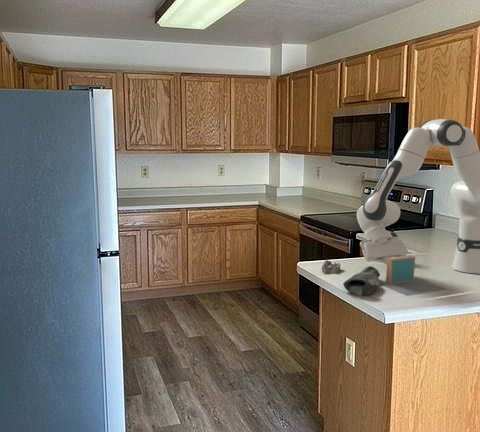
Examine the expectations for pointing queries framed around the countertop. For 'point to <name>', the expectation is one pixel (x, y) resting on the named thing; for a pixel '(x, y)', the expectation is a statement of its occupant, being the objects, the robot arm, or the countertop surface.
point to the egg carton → (330, 267)
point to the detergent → (367, 277)
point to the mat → (413, 287)
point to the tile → (400, 269)
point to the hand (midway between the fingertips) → (393, 267)
